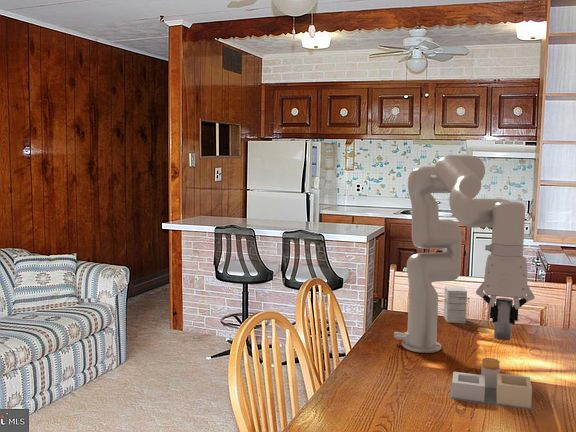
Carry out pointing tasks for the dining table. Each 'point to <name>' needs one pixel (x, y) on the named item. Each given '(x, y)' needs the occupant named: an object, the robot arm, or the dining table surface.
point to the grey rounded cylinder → (503, 319)
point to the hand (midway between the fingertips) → (503, 321)
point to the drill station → (492, 388)
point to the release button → (490, 363)
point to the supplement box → (455, 304)
